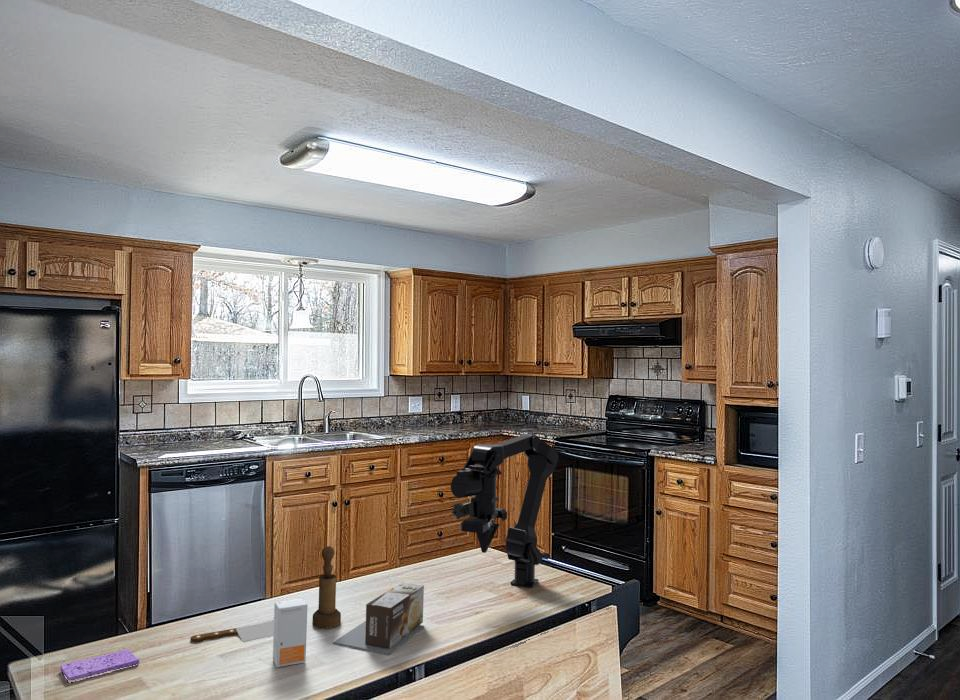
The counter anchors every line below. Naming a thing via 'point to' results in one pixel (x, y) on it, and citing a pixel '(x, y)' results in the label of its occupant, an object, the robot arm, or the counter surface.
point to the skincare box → (290, 632)
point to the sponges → (99, 664)
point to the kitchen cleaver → (240, 633)
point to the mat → (357, 641)
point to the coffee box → (394, 615)
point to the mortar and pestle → (327, 595)
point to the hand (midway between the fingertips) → (484, 552)
